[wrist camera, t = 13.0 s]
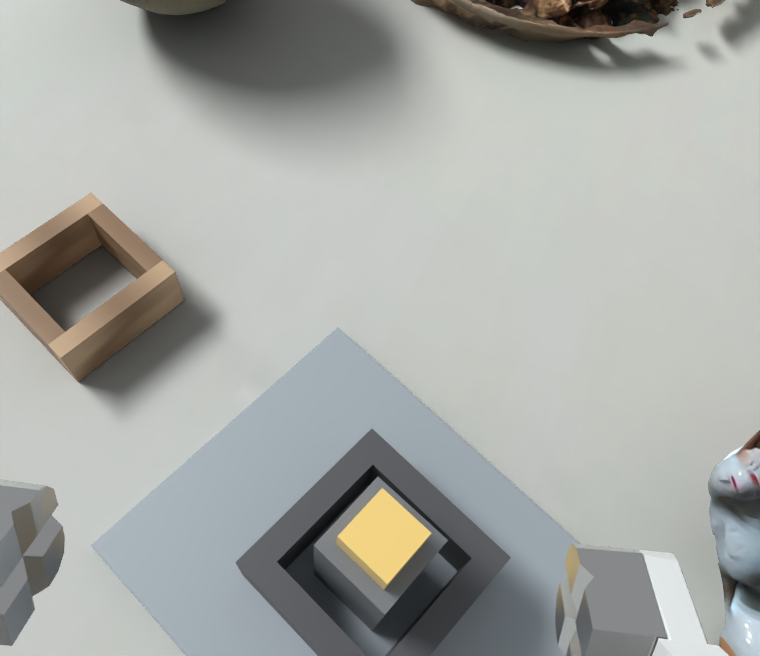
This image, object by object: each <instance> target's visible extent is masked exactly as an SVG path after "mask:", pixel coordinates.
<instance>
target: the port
mask: <svg viewBox="0 0 760 656" xmlns="http://www.w3.org/2000/svg"><path fill="white" fill-rule="evenodd" d="M377 477H379V478H380V479H382V480H383V481H384V482H385V483H386V484H387V485H388V486H389V487H390V488H391V489H392V490H394V491H395V492H396V493H397V494H398V495H399V496H400V497H401V498H402V499H403V500H405V501H406V502H407V503H408V504H409V505H410V506H411V507H412V508H413V509H414V510H415V511H417V512H418V513H419V514H420V515H421V516H422V517H423V518H424V519H425V520H426V521H427V522H429V523H430V524H431V525H432V526H433V527H434V528H435V529H436V530H437V531H438V532H440V533H441V534H442V535H443V536H444V537H445V538H446V539H447V540H448V541H447V542H446V543H445V544H444V546H443V547H442V548H441V549H440V550H439V552H438V553H437V554H436V555H435V556H434V558H433V559H432V560H431V561H430V562H429V564H428V565H427V566H426V567H425V568H424V570H423V571H422V572H421V573H420V574H419V576H418V577H417V578H416V579H415V580H414V582H413V583H412V584H411V585H410V586H409V587H408V589H407V590H406V591H405V592H404V593H403V595H402V596H401V597H400V598H399V599H398V601H397V602H396V603H395V604H394V605H393V606H392V608H391V609H390V610H389V611H388V612H387V614H386V615H385V616H384V617H383V618H382V619H381V621H380V622H379V623H378V624H377V625H376V627H375V628H374V629H373V630H372V631H371V630H370V629H369V628H368V627H367V626H366V625H365V624H364V623H363V622H362V621H361V620H360V619H359V618H358V617H357V616H356V615H355V614H354V613H353V612H352V611H351V610H350V609H349V608H348V607H347V606H346V605H345V604H344V603H343V602H342V601H341V600H340V599H339V598H337V597H336V596H335V595H334V594H333V593H332V592H331V591H330V590H329V589H328V588H327V587H326V586H325V585H324V584H323V583H322V582H321V581H320V580H319V579H318V578H317V577H316V576H315V575H314V544H315V543H316V542H317V541H318V540H319V539H320V538H321V537H322V536H323V535H324V533H325V532H326V531H327V530H328V529H329V528H330V527H331V526H332V525H333V524H334V523H335V522H336V521H337V520H338V519H339V517H340V516H341V515H342V514H343V513H344V512H345V511H346V510H347V509H348V508H349V507H350V506H351V505H352V504H353V503H354V501H355V500H356V499H357V498H358V497H359V496H360V495H361V494H362V493H363V492H364V491H365V490H366V489H367V488H368V486H369V485H370V484H371V483H372V482H373V481H374V480H375V479H376V478H377ZM572 543H573V544H580V543H578V542H577V541H576V540H575V539H574V538H573V537H572V536H571V535H570V534H568V533H567V532H566V531H565V530H564V529H563V528H562V527H561V526H559V525H558V524H557V523H556V522H555V521H554V520H553V519H552V518H551V517H549V516H548V515H547V514H546V513H545V512H544V511H543V510H542V509H540V508H539V507H538V506H537V505H536V504H535V503H534V502H533V501H532V500H530V499H529V498H528V497H527V496H526V495H525V494H524V493H523V492H521V491H520V490H519V489H518V488H517V487H516V486H515V485H514V484H513V483H511V482H510V481H509V480H508V479H507V478H506V477H505V476H504V475H502V474H501V473H500V472H499V471H498V470H497V469H496V468H495V467H494V466H492V465H491V464H490V463H489V462H488V461H487V460H486V459H485V458H483V457H482V456H481V455H480V454H479V453H478V452H477V451H476V450H475V449H473V448H472V447H471V446H470V445H469V444H468V443H467V442H466V441H464V440H463V439H462V438H461V437H460V436H459V435H458V434H457V433H456V432H454V431H453V430H452V429H451V428H450V427H449V426H448V425H447V424H446V423H444V422H443V421H442V420H441V419H440V418H439V417H438V416H437V415H435V414H434V413H433V412H432V411H431V410H430V409H429V408H428V407H427V406H425V405H424V404H423V403H422V402H421V401H420V400H419V399H418V398H416V397H415V396H414V395H413V394H412V393H411V392H410V391H409V390H408V389H406V388H405V387H404V386H403V385H402V384H401V383H400V382H399V381H397V380H396V379H395V378H394V377H393V376H392V375H391V374H390V373H389V372H387V371H386V370H385V369H384V368H383V367H382V366H381V365H380V364H378V363H377V362H376V361H375V360H374V359H373V358H372V357H371V356H370V355H368V354H367V353H366V352H365V351H364V350H363V349H362V348H361V347H359V346H358V345H357V344H356V343H355V342H354V341H353V340H352V339H351V338H349V337H348V336H347V335H346V334H345V333H344V332H343V331H342V330H340V329H339V328H337V329H336V330H334V331H333V332H332V333H331V334H330V335H329V336H328V337H327V338H325V339H324V340H323V341H322V342H321V343H320V344H319V345H318V346H316V347H315V348H314V349H313V350H312V351H311V352H310V353H308V354H307V355H306V356H305V357H304V358H303V359H302V360H301V361H299V362H298V363H297V364H296V365H295V366H294V367H293V368H291V369H290V370H289V371H288V372H287V373H286V374H285V375H284V376H282V377H281V378H280V379H279V380H278V381H277V382H276V383H275V384H273V385H272V386H271V387H270V388H269V389H268V390H267V391H265V392H264V393H263V394H262V395H261V396H260V397H259V398H258V399H256V400H255V401H254V402H253V403H252V404H251V405H250V406H248V407H247V408H246V409H245V410H244V411H243V412H242V413H241V414H239V415H238V416H237V417H236V418H235V419H234V420H233V421H231V422H230V423H229V424H228V425H227V426H226V427H225V428H224V429H222V430H221V431H220V432H219V433H218V434H217V435H216V436H215V437H213V438H212V439H211V440H210V441H209V442H208V443H207V444H205V445H204V446H203V447H202V448H201V449H200V450H199V451H198V452H196V453H195V454H194V455H193V456H192V457H191V458H190V459H188V460H187V461H186V462H185V463H184V464H183V465H182V466H181V467H179V468H178V469H177V470H176V471H175V472H174V473H173V474H172V475H170V476H169V477H168V478H167V479H166V480H165V481H164V482H162V483H161V484H160V485H159V486H158V487H157V488H156V489H155V490H153V491H152V492H151V493H150V494H149V495H148V496H147V497H145V498H144V499H143V500H142V501H141V502H140V503H139V504H138V505H136V506H135V507H134V508H133V509H132V510H131V511H130V512H128V513H127V514H126V515H125V516H124V517H123V518H122V519H121V520H119V521H118V522H117V523H116V524H115V525H114V526H113V527H112V528H110V529H109V530H108V531H107V532H106V533H105V534H104V535H102V536H101V537H100V538H99V539H98V540H97V541H96V542H95V543H93V544H92V545H91V547H92V548H93V549H94V550H95V551H96V553H97V554H98V555H99V556H100V557H101V558H102V559H103V561H104V562H105V563H106V564H107V565H108V566H109V568H110V569H111V570H112V571H113V572H114V573H115V574H116V576H117V577H118V578H119V579H120V580H121V581H122V582H123V584H124V585H125V586H126V587H127V588H128V589H129V591H130V592H131V593H132V594H133V595H134V596H135V597H136V599H137V600H138V601H139V602H140V603H141V604H142V605H143V607H144V608H145V609H146V610H147V611H148V612H149V613H150V615H151V616H152V617H153V618H154V619H155V620H156V622H157V623H158V624H159V625H160V626H161V627H162V628H163V630H164V631H165V632H166V633H167V634H168V635H169V636H170V638H171V639H172V640H173V641H174V642H175V643H176V644H177V646H178V647H179V648H180V649H181V650H182V651H183V653H184V654H185V655H186V656H566V655H565V653H564V652H563V651H562V650H561V649H560V648H559V646H558V644H557V636H556V625H555V611H556V599H557V594H558V589H559V585H560V582H561V581H563V580H564V579H565V578H567V577H568V575H567V569H566V563H565V561H566V557H567V553H568V550H569V548H570V546H571V545H572Z"/></svg>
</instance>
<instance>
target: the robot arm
mask: <svg viewBox="0 0 760 656" xmlns="http://www.w3.org/2000/svg"><path fill="white" fill-rule="evenodd" d="M57 506H58V503H57V499H56V495H55V491H54V489H52V488H50V487H48V486H44V485H36V484H29V483H21V482H14V481H7V480H0V645H9V646H12V645H13V643H14V642H15V640H16V639H17V637H18V635H19V634H20V632H21V631H22V629H23V627H24V626H25V624H26V623H27V621H28V619H29V618H30V616H31V615H32V613H33V611H34V610H35V608H34V603H33V598H32V596H34V595H35V594H37V593H39V592H40V591H42V590H44V589H45V588H47V587H48V586H50V584H51V582H52V580H53V579H54V577H55V575H56V574H57V572H58V570H59V567H60V563H61V560H62V557H63V554H64V540H65V538H64V532H63V527H62V525H61V524H60V523H59V522H58V521H57V520H56V519H55V518H54V517H53V516H52V513H53V512H54V510H55V509H56V507H57ZM565 563H566V569H567V575H568V577H567V578H565V579H564V580H563V581H561V582H560V585H559V589H558V594H557V599H556V611H555V625H556V636H557V644H558V646H559V648H560V649H561V650H562V651H563V652H564V653H565V655H566V656H729V655H728V654H727V653H726V652H725V651H724V650H723V649H722V648H721V647H720V646H718V645H711V644H708V642H707V639H706V637H705V634H704V631H703V628H702V626H701V623H700V620H699V617H698V615H697V612H696V609H695V606H694V604H693V601H692V598H691V595H690V592H689V590H688V587H687V584H686V581H685V579H684V576H683V573H682V570H681V568H680V565H679V562H678V559H677V558H676V557H675V556H674V555H673V554H672V553H665V552H655V551H645V550H638V551H637V550H633V549H623V548H613V547H603V546H593V545H583V544H573V543H572V545H571V546H570V548H569V550H568V553H567V557H566V561H565Z"/></svg>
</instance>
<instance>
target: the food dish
mask: <svg viewBox="0 0 760 656" xmlns="http://www.w3.org/2000/svg"><path fill="white" fill-rule="evenodd" d="M411 1H413V2H414V3H415V4H418V5H423V6H427V7H437V8H439V9H441V10H443V11H445V12H449V11H451V12H452V14H455V15H459V19H463V20H466V21H468V22H470V23H471V24H472V25H473V26H474V27H482V26H484V25H486V26H487V27H488V28H489V29H491V30H493V29H498V30H502V31H504V32H505V33H507V34H509V35H511V36H513V37H516V38H518V39H520V40H522V41H526V42H528V41H537V42H565V41H569V40H572V39H577V38H581V37H582V38H586V39H587V38H591V39H597V38H600V37H608V38H618V37H622V36H625V35H628V34H633V33H646V34H647V35H648V36H653V35H654V33H655V32H656V31H657V30H658V29H660V28H662V27H664V26H666V25H668V23H665V24H655V23H657V22H658V21H659V18H658V16H657V15H658V14H663V15H668V14H669V13H670V12H671V11H674V8H670V6H673V7H674V6H677V4H676V3H678V2H677V0H411ZM724 1H725V0H706V2H707V3H706V6H711V7H712V8H713V7H715V6H718V5H720V4H722V3H723V2H724ZM515 5H519V6H521V7H522V8H523V9H518V8H515V9H509V8H511V7H512V6H515ZM646 6H648V7H650V9H648V8H647V7H646ZM652 9H653V10H654V11H655V12H654V11H653V10H652ZM676 10H679V9H676ZM656 12H657V13H656ZM699 13H701V10H700V9H695V10H692V11H689V12H686V13H684V14H683V18H690V17H693V16H694V15H696V14H699ZM610 18H611V19H610ZM611 21H613V25H612V24H611ZM609 25H611V26H609Z"/></svg>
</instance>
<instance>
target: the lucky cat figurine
mask: <svg viewBox="0 0 760 656" xmlns="http://www.w3.org/2000/svg"><path fill="white" fill-rule="evenodd" d="M708 490H709V494H710V496H711V503H710V518H711V526H712V531H713V534H714V535H715V537H716V550H717V554H718V559H719V563H718V565H719V568H720V573H721V577H722V582H723V590H724V601H725V611H726V613H725V625H726V627H725V628H724V630H723V632H722V633H721V635H720V647H721V648H722V649H723V650H724V651H725V652H726V653H727V654H728V655H729V656H760V430H759V431H758V432H757V433H756V434H755V435H754V436H753V437H752V438H751V439H750V440H749V441H748V442H747V443H746V444H745V445H744V446H742V447H740V448H738V449H737V450H735V451H733V452H731V453H730V454H729V455H728V456H727V457H726V458H725V459H724V460H723V461H722V462H720V463H718V464H717V465H716V466H715V467H714V469H713V471H712V473H711V476H710V480H709V482H708Z"/></svg>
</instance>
